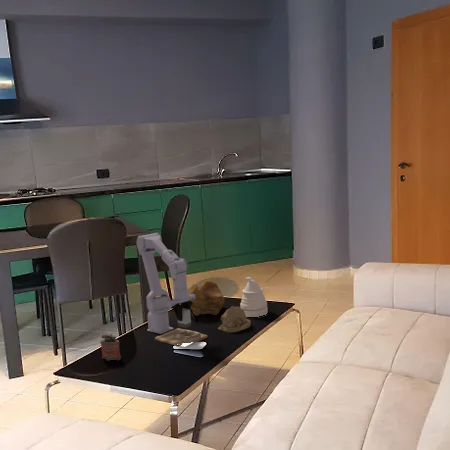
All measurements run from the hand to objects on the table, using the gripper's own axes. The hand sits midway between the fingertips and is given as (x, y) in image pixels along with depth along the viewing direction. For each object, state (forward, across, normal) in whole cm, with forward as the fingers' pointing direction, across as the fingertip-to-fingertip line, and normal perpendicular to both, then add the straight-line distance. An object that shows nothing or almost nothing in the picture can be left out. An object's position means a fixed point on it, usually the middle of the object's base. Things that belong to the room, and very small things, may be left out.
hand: (183, 319), depth 235 cm
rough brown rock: (+10, +35, +19) cm, 41 cm away
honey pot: (+10, +44, -2) cm, 45 cm away
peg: (+3, 0, -1) cm, 3 cm away
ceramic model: (+10, +24, -7) cm, 27 cm away
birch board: (+9, +1, +3) cm, 10 cm away
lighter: (+10, -30, +11) cm, 33 cm away
